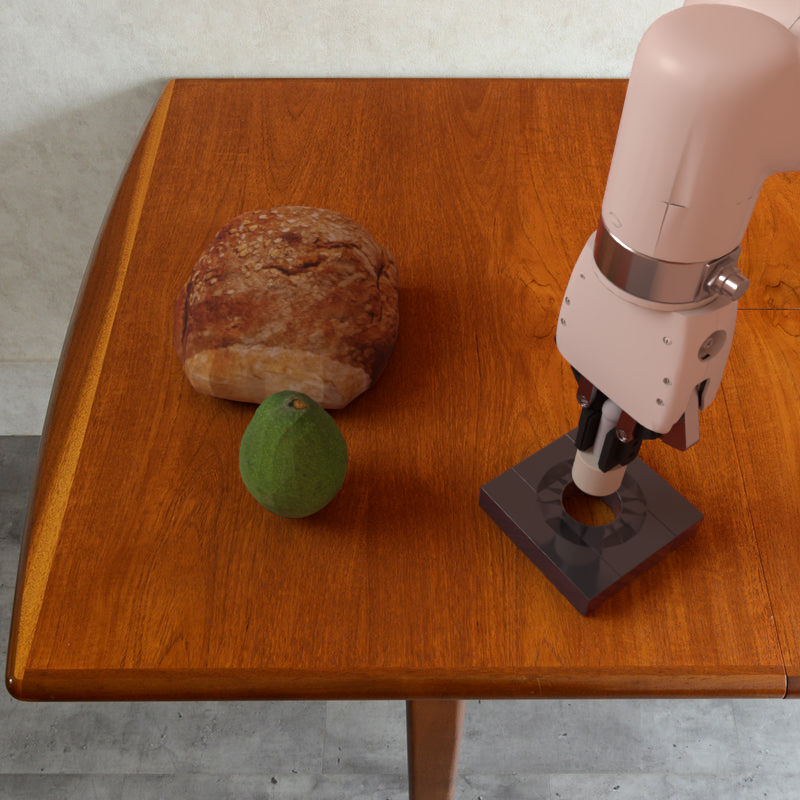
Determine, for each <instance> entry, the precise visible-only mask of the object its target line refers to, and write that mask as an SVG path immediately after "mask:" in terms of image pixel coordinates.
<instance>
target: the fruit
mask: <svg viewBox="0 0 800 800" xmlns="http://www.w3.org/2000/svg"><path fill="white" fill-rule="evenodd" d="M238 463H239V465H238V466H239V472H240V476H241V479H242V482H243V484H244V485H245V487H246V489H247V490H248V492H249V493H250V495H251V496H252V497H253V499H254V500H255V501H256V502H257V503H258V504H259V505H261V506H262V507H263V508H264V509H265V510H266V511H267V512H270V513H272V514H275V515H278V516H280V517H283V518H285V519H301V518H306V517H309V516H311V515H313V514H315V513H318V512H320V511H321V510H322V509H323V508H325V507H326V506H327V505H328V504H330V503H331V501H333V500H334V498H335V497H336V496H337V494H338V493H339V491H340V490H341V488H342V487H343V484H344V481H345V478H346V475H347V473H348V472H347V471H348V467H349V454H348V444H347V442H346V440H345V437H344V435H343V433H342V431H341V430H340V428H339V426H338V424H337V423H336V421H335V419H334V418H333V416H332V415H331V414H330V413H329V412H327V411H326V409H323V408H322V406H320V405H319V404H318V403H317V402H315V401H314V400H313V399H312V398H310V397H309V396H307V395H306V394H305V393H301V392H297V391H292V390H284V391H281V392H278V393H275V394H273V395H271V396H270V397H268V398H266V399H265V400H264V401H263V402H262V404H259V406H258V407H257V408H256V410H255V412H254V415H253V416H252V418H251V420H250V422H249V424H248V425H247V427H246V428H245V430H244V432H243V435H242V437H241V440H240V446H239V453H238Z"/></svg>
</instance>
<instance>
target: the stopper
mask: <svg viewBox="0 0 800 800" xmlns="http://www.w3.org/2000/svg"><path fill="white" fill-rule="evenodd" d="M621 412H622V409H621V408H620V407H619V406H618V405H617V404H616V403H614V402H613V401H612V400H611V399H610V398H609V399H607V400H606V401H605V402H604V404H603V407H602V416H601V420H600V423H599V427H598V431H597V434H596V438H595V441H594V445H593V446H592V447H590V448H588V449H587V450H585V451H579V450H578V449H577V453H576V457H575V461H574V465H573V469H572V477H573V480H574V482H575V484H576V485H577V486H578V487H579V488H580V489H581V490H582V491H584V492H586V493H588V494H590V495H594V496H606V495H610V494H612V493H614V492H615V491H616V490H617V489H618V488H619V487H620V485H621V482H622V479H623V476H624V473H625V470H626V467H627V465H626V466H621V465H620V464H618V465H617V466H615V467H614V468H612V469H611V470H609V471H608V472H606V473H603V472H602V471H601V470H600V469H599V468H598V466H599V465H598V461H599V458H600V454H601V451H602V447H603V444H604V440H605V437H606V434H607V433H608V432H609V431H610V430H611V429H613V428H614V427H616V426H617V424H618V421H619V418H620V415H621Z"/></svg>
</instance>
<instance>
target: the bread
mask: <svg viewBox="0 0 800 800" xmlns="http://www.w3.org/2000/svg"><path fill="white" fill-rule="evenodd" d="M192 267H193V268H192V271H191V273H190V275H189V277H188V279H187V281H186V282H185V283H184V284H183V285H182V286H181V288H180V290H179V293H178V294H177V297H176V299H175V303H174V310H173V313H174V314H173V316H174V317H173V332H172V333H173V334H172V346H173V349H174V350H175V352H176V354H177V356H178V359H179V361H180V363H181V366H182V370H183V373H184V376H185V378H186V380H187V382H188V383H189V384H190V385H191V387H192V388H193V389H194V390H195V391H196V392H197V393H198V394H201V395H204V396H205V395H206V396H209V397H214V398H218V399H223V400H229V401H236V402H240V403H241V402H242V403H250V404H256V405H261V404H262V402H263V401H264V400H265V399H266V398H268V397H270V396H271V395H273V394H275V393H278V392H281V391H284V390H292V391H297V392H301V393H305V394H306V395H307V396H309V397H310V398H312V399H313V400H314V401H315V402H317V403H318V404H319V405H320V406H322V408H323V409H324V410H343V409H344V408H346V406H348V405H349V404H350V403H351V402H352V401H353V400H355V399H356V398H357V397H358V396H361V394H363V393H364V392H366V391H367V390H370V388H372V387H374V386H375V385H376V383H377V382H378V380H379V379H380V377H381V376H382V374H383V372H384V371H385V369H386V367H387V365H388V363H389V361H390V359H391V356H392V354H393V352H394V349H395V347H396V345H397V342H398V337H399V330H400V308H399V268H398V264H397V260H396V258H395V256H394V255H393V254H392V252H391V251H390V249H388V247H387V246H385V245H383V244H381V243H378V242H376V240H375V238H374V237H373V235H372V234H371V233H370V231H368V230H367V229H366V228H365V227H364V226H363V225H361V224H359V222H357V221H356V220H354V219H353V218H351V217H349V216H347V215H346V214H343V213H342V212H339V211H334V210H331V209H326V208H322V207H321V208H320V207H315V206H302V205H301V206H300V205H299V206H298V205H288V206H287V205H286V206H276V207H271V208H265V209H257V210H249V211H247V212H243V213H241V214H239V215H236V216H235V217H234V218H232V219H230V220H229V221H228V222H226V223H225V224H223V225H222V227H221V228H220V229H219V230H218V232H217V233H216V234H215V235H214V237H213V238H212V240H211V241H210V243H208V245H207V247H206V248H205V249H204V250H203V251H202V253H201V254H200V256H199V257H198V259H197V260H196V262H195V263H194V264H193V266H192Z"/></svg>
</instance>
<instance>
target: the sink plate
mask: <svg viewBox="0 0 800 800" xmlns="http://www.w3.org/2000/svg"><path fill="white" fill-rule="evenodd" d="M578 428H579V427H578V425H577V426H576V427H574V428H573V429H571V430H570V431H567V432H566V433H564V434H562V435H561V436H560V437H558V438H556V439H555V440H553V441H552V442H550V443H549V444H547V445H545V446H544V447H542V448H540V449H538V450H537V451H536V452H534V453H532V454H530V455H529V456H528V457H526V458H524V459H523V460H521V461H519V462H518V463H517V464H514V465H513V466H512V467H510V468H508V469H507V470H506V471H504V472H502V473H500V474H499V475H497V476H496V477H494V478H493V479H491V480H489V481H487V482H486V483H484V484H483V485H481V486H480V488H479V494H478V495H479V496H478V506H479V508H480V509H482V511H483V512H484V513H485V514H486V515H487V516H488V517H489V518H490V519H491V520H492V521H493V522H494V524H496V526H498V528H500V530H501V531H502V532H503V533H504V534H505V535H506V536H507V537H508V539H510V540H511V541H512V543H513V544H515V546H516V547H517V548H518V549H519V550H520V551H521V553H523V554H524V555H525V557H526V558H527V559H528V560H529V561H530V562H532V564H533V565H534V566H535V567H536V568H537V569H538V570H539V571H540V572H541V573H542V574H543V575H544V576H545V577H546V578H547V580H548V581H549V582H550V583H551V584H552V585H553V586H554V587H555V588H556V589H557V590H558V592H560V593H561V595H562V596H563V597H564V598H565V599H566V600H567V601H568V603H570V604H571V605H572V606H573V607H574V608H575V609H576V610H577V612H578V613H579V614H580V615H581V616H582V617H583V618H584V617H586V616H588V615H590V613H591V612H593V611H594V610H595V609H597V608H598V607H600V606H601V605H602V604H604V603H605V602H607V601H608V600H609V599H610V598H612V597H614V596H615V594H617V593H619V592H620V591H622V590H623V589H624V588H626V586H628V585H629V584H630V583H632V582H633V581H635V580H636V579H637V578H639V577H640V576H642V574H644V573H646V572H647V571H648V570H650V569H651V568H652V567H653V566H655V565H656V564H658V563H659V562H660V561H662V560H663V559H664V558H666V557H667V556H668V555H669V554H671V553H672V552H674V551H675V550H676V549H678V548H679V547H681V546H682V545H684V544H685V543H686V542H688V541H689V540H690V539H691V538H693V537H694V536H696V535H697V534H698V531H699V530H700V528H701V525H702V524H703V521H704V519H705V514H704V513H703V512H702V511H701V510H699V509H698V507H696V506H695V505H694V504H692V503H691V502H690V501H689V500H688V499H687V498H686V497H685V496H684V495H682V493H680V492H679V491H678V490H676V488H674V486H672V485H671V484H670V483H669V482H668V481H667V480H666V479H665V478H663V477H662V476H661V475H660V474H659V473H658V472H656V471H655V470H654V469H653V468H652V467H651V466H650V465H649V464H647V463H646V462H645V461H644V460H643V459H642V458H641V457H640V456H638V455H637V457H636V458H635V459H634V460H633V461H632V462H630V463H629V464H627V467H626V470H625V473H624V476H623V479H622V482H621V485H620V487H619V488H618V489H617V490H616V491H615V492H614V493H612V494H610V495H606V496H594V495H590V494H588V493H586V492H584V491H582V490H581V489H580V488H579V487H578V486H577V485H576V484H575V482H574V480H573V477H572V469H573V465H574V461H575V457H576V453H577V448H576V447H575V446H574V445H575V441H576V437H577V432H578ZM577 496H578V497H579V496H585V497H592V498H595V499H597V500H599V501H601V502H603V503H604V504H605V505H606V506H607V508H609V509H610V510H611V512H612V515H613V517H614V519H613V520H612V521H611V522H609V523H607V524H601V525H597V526H596V525H590V524H584V523H582V522H580V521H578V520H576V519H574V518H573V517H572V516H571V515H570V514H569V513H568V512H567V511H566V509H565V506H564V504H563V503H564V502H566V501H567V500H569V499H570V498H573V497H577Z"/></svg>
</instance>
